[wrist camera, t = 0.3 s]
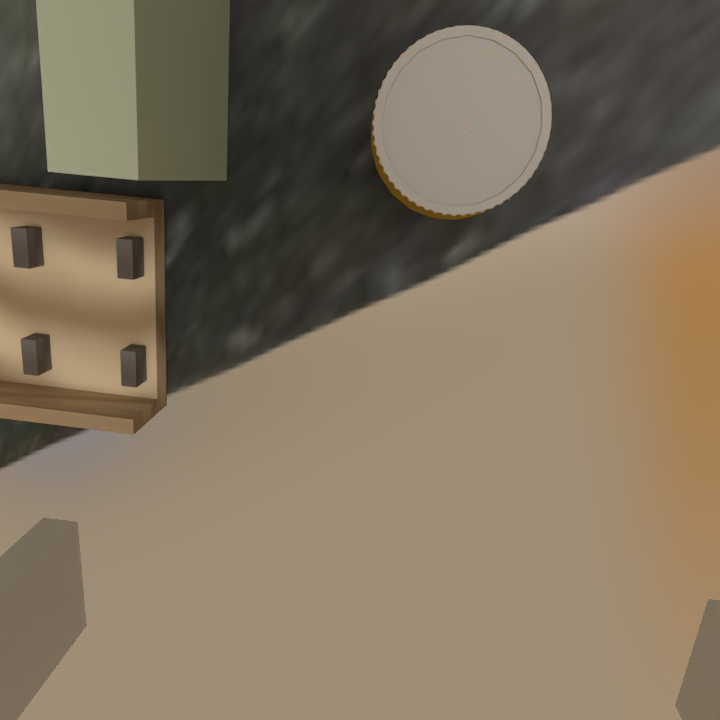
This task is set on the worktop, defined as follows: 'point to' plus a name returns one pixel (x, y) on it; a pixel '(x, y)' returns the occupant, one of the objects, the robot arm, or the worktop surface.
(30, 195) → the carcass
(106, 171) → the door
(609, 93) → the worktop surface
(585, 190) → the worktop surface
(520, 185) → the bottle
